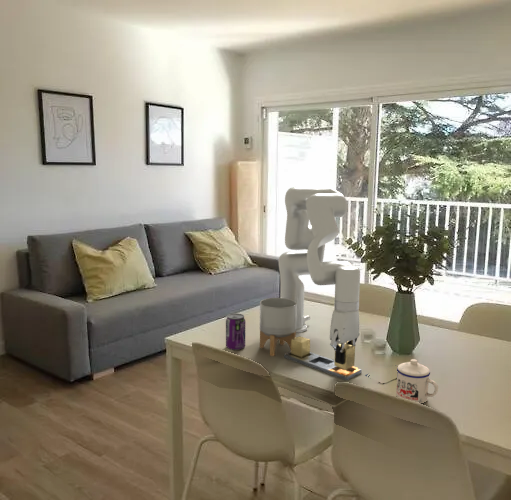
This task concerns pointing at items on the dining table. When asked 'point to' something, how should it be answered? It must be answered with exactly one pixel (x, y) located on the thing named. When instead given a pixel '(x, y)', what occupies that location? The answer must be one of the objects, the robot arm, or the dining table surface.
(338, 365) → the brass block
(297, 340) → the brass block
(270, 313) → the planter
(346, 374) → the gray slotted tray
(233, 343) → the beverage can
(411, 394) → the teacup with lid
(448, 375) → the dining table surface
